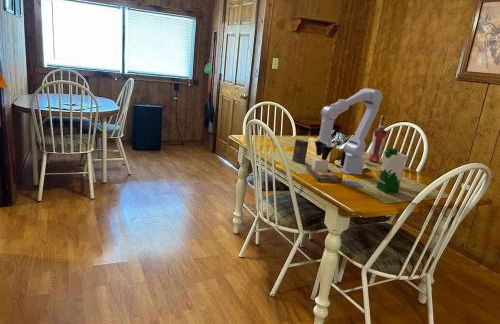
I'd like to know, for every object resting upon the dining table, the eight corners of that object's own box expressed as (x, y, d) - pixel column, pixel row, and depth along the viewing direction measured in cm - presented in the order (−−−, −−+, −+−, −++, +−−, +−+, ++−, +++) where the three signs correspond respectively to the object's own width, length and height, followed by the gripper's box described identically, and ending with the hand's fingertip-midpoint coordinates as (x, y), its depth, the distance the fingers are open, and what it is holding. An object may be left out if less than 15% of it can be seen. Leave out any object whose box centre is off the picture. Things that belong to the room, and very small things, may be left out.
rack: (326, 170, 189) (326, 167, 189) (339, 182, 172) (340, 178, 172) (305, 169, 187) (306, 165, 187) (318, 181, 170) (318, 177, 170)
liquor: (367, 158, 227) (376, 114, 219) (379, 160, 225) (389, 116, 217) (367, 161, 220) (377, 115, 212) (380, 163, 218) (390, 117, 211)
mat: (356, 182, 176) (356, 181, 176) (363, 187, 170) (363, 186, 169) (341, 181, 175) (341, 180, 174) (347, 186, 168) (347, 185, 168)
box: (305, 162, 200) (308, 141, 197) (299, 163, 197) (303, 142, 194) (297, 159, 205) (300, 138, 201) (291, 160, 202) (295, 139, 198)
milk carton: (373, 187, 172) (382, 146, 167) (389, 187, 175) (398, 147, 169) (384, 194, 164) (394, 151, 159) (401, 194, 167) (411, 152, 161)
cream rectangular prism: (323, 172, 187) (326, 159, 185) (326, 174, 183) (329, 161, 181) (310, 171, 186) (313, 158, 184) (313, 173, 182) (315, 160, 180)
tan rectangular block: (331, 178, 178) (332, 172, 178) (334, 181, 175) (335, 175, 174) (316, 177, 177) (317, 171, 176) (319, 180, 173) (320, 174, 172)
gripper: (313, 127, 185) (309, 153, 188) (323, 133, 171) (318, 161, 175) (326, 128, 186) (321, 154, 190) (337, 134, 172) (332, 162, 176)
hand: (321, 157), depth 182 cm, fingers open, 7 cm apart
